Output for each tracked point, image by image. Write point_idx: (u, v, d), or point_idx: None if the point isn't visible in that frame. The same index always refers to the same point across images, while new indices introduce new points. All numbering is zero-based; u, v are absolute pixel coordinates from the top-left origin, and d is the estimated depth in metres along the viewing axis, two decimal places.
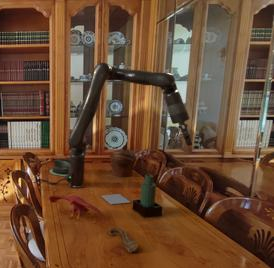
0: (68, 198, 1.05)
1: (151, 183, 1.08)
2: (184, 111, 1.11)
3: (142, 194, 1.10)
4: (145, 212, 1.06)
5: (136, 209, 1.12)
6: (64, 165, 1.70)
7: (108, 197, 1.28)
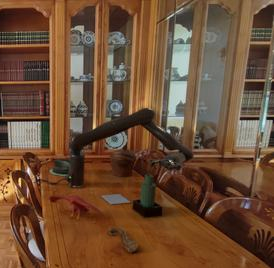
0: (68, 198, 1.05)
1: (151, 183, 1.08)
2: None
3: (142, 194, 1.10)
4: (145, 212, 1.06)
5: (136, 209, 1.12)
6: (64, 165, 1.70)
7: (108, 197, 1.28)
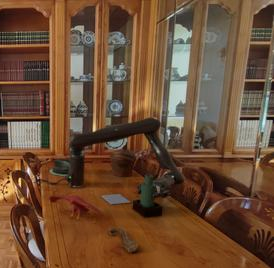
0: (68, 198, 1.05)
1: (151, 183, 1.08)
2: None
3: (142, 194, 1.10)
4: (145, 212, 1.06)
5: (136, 209, 1.12)
6: (64, 165, 1.70)
7: (108, 197, 1.28)
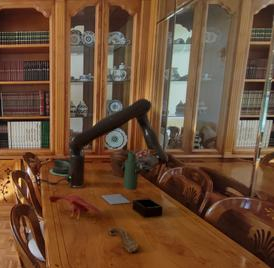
0: (68, 198, 1.05)
1: (134, 160, 1.14)
2: None
3: (125, 170, 1.16)
4: (145, 212, 1.06)
5: (136, 209, 1.12)
6: (64, 165, 1.70)
7: (108, 197, 1.28)
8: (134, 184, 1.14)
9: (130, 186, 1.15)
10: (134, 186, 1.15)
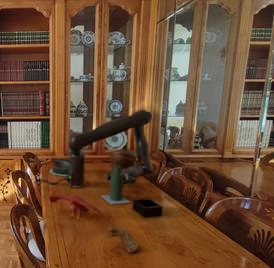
0: (68, 198, 1.05)
1: (119, 173, 1.22)
2: None
3: (111, 182, 1.24)
4: (145, 212, 1.06)
5: (136, 209, 1.12)
6: (64, 165, 1.70)
7: (108, 197, 1.28)
8: (119, 195, 1.23)
9: (115, 197, 1.23)
10: (119, 197, 1.23)
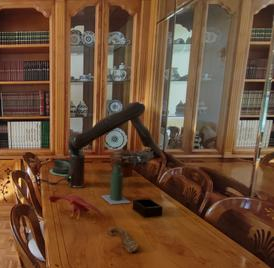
0: (68, 198, 1.05)
1: (119, 173, 1.22)
2: None
3: (111, 182, 1.24)
4: (145, 212, 1.06)
5: (136, 209, 1.12)
6: (64, 165, 1.70)
7: (108, 197, 1.28)
8: (119, 195, 1.23)
9: (115, 197, 1.23)
10: (119, 197, 1.23)
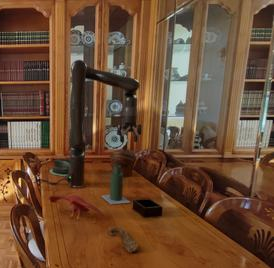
0: (68, 198, 1.05)
1: (119, 173, 1.22)
2: None
3: (111, 182, 1.24)
4: (145, 212, 1.06)
5: (136, 209, 1.12)
6: (64, 165, 1.70)
7: (108, 197, 1.28)
8: (119, 195, 1.23)
9: (115, 197, 1.23)
10: (119, 197, 1.23)
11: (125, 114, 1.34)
